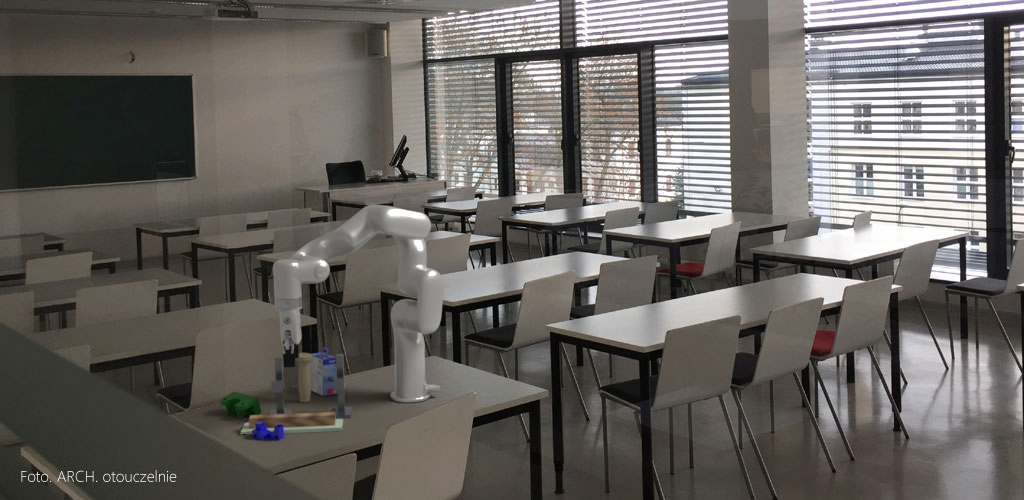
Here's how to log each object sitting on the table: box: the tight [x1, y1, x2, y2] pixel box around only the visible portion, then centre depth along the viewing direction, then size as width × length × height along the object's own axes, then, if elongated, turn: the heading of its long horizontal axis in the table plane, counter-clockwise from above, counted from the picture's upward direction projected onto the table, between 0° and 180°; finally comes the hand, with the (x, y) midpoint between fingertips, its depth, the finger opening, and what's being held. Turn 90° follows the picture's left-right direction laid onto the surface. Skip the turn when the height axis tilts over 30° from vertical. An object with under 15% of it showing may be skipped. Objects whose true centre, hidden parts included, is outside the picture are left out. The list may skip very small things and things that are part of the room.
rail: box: [248, 411, 336, 429], centre depth 271 cm, size 24×3×3 cm, turn 97°
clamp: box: [219, 390, 262, 419], centre depth 284 cm, size 12×6×9 cm, turn 47°
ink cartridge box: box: [309, 346, 337, 397], centre depth 307 cm, size 10×6×14 cm, turn 38°
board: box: [240, 418, 344, 435], centre depth 271 cm, size 28×8×1 cm, turn 97°
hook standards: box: [269, 353, 353, 419], centre depth 281 cm, size 24×9×18 cm, turn 97°
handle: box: [295, 352, 313, 403], centre depth 296 cm, size 5×6×15 cm
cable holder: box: [251, 422, 285, 441], centre depth 263 cm, size 8×4×4 cm, turn 67°
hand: (291, 362), depth 269 cm, fingers open, 9 cm apart
